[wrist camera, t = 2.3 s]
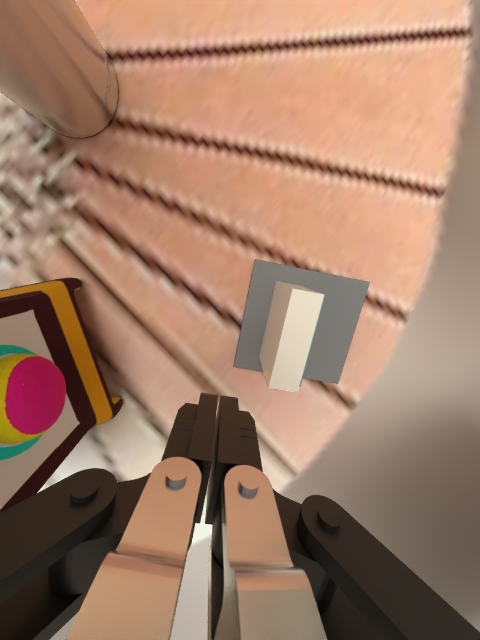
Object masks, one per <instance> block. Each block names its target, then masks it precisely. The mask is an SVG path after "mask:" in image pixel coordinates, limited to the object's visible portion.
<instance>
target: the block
mask: <svg viewBox="0 0 480 640" xmlns="http://www.w3.org/2000/svg"><path fill="white" fill-rule="evenodd" d="M323 301H324V294H322V293H319V292H316V291H313V290H311V289H308V288H305V287H303V286H300V285H295V284H290V283H284V282H279V281H276V283H275V288H274V292H273V297H272V301H271V305H270V310H269V314H268V319H267V323H266V328H265V332H264V337H263V341H262V346H261V350H260V354H259V359H260V362H261V365H262V368H263V372H264V375H265V378H266V381H267V384H268V388H272V389H279V390H285V391H292V392H298V389H299V387H300V385H301V382H302V378H303V374H304V371H305V367H306V363H307V360H308V356H309V352H310V349H311V345H312V341H313V338H314V334H315V331H316V327H317V323H318V320H319V316H320V312H321V309H322V305H323Z"/></svg>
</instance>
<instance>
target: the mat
mask: <svg viewBox="0 0 480 640" xmlns="http://www.w3.org/2000/svg"><path fill="white" fill-rule="evenodd" d="M276 281H279V282H284V283H290V284H295V285H300V286H303V287H305V288H308V289H311V290H313V291H316V292H319V293H322V294H324V301H323V305H322V309H321V312H320V316H319V320H318V323H317V327H316V331H315V334H314V338H313V341H312V345H311V349H310V352H309V356H308V360H307V363H306V367H305V371H304V374H303V378H305V379H311V380H317V381H324V382H330V383H336V384H338V382H339V379H340V376H341V373H342V369H343V366H344V363H345V360H346V357H347V353H348V350H349V347H350V344H351V341H352V337H353V334H354V331H355V328H356V325H357V321H358V318H359V315H360V312H361V309H362V305H363V302H364V299H365V296H366V293H367V290H368V286H369V283H370V282H366V281H361V280H356V279H351V278H346V277H341V276H336V275H331V274H326V273H321V272H316V271H311V270H306V269H301V268H296V267H291V266H286V265H281V264H276V263H271V262H266V261H261V260H256V259H255V261H254V266H253V271H252V276H251V281H250V286H249V291H248V296H247V301H246V306H245V311H244V316H243V321H242V326H241V331H240V336H239V341H238V346H237V351H236V356H235V361H234V367H236V368H242V369H248V370H255V371H261V372H263V368H262V365H261V362H260V359H259V354H260V350H261V346H262V341H263V337H264V332H265V328H266V323H267V319H268V314H269V310H270V305H271V301H272V297H273V292H274V288H275V283H276Z"/></svg>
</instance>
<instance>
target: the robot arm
mask: <svg viewBox="0 0 480 640" xmlns="http://www.w3.org/2000/svg"><path fill="white" fill-rule="evenodd" d="M0 92H1V93H2V94H4V95H5V96H6V97H8V98H9V99H11V100H12V101H13V102H15V103H16V104H17V105H19V106H20V107H21V108H23V109H24V110H26V111H28V112H29V113H31V114H32V115H33V116H35V117H36V118H37V119H39V120H40V121H42V122H43V123H44V124H46V125H47V126H48V127H50V128H51V129H53V130H54V131H56V132H58V133H60V134H62V135H64V136H69V137H73V138H85V137H89V136H93V135H95V134H96V133H98V132H100V131H101V130H102V129H104V128H105V127H106V126H107V125H108V123H109V122H110V120H111V119H112V117H113V115H114V112H115V110H116V107H117V101H118V83H117V79H116V74H115V71H114V69H113V66H112V63H111V61H110V60H109V58H108V56H107V55H106V53H105V51H104V49H103V48H102V46H101V44H100V43H99V41H98V39H97V38H96V36H95V34H94V33H93V31H92V29H91V27H90V26H89V24H88V22H87V20H86V19H85V17H84V15H83V14H82V12H81V10H80V9H79V7H78V5H77V4H76V2H75V0H0ZM217 398H218V395H214V394H207V393H201V395H200V400H199V404H198V405H197V404H190V403H185V404H184V405H183V406H182V407H181V408H180V409H179V410H178V413H177V416H176V419H175V422H174V424H173V428H172V430H171V433H170V436H169V439H168V442H167V445H166V448H165V451H164V454H163V457H162V460H161V462H160V463H158V464H157V465H156V466H155V467H154V469H153V470H152V472H151V473H149V474H148V475H146V476H144V477H142V478H139V479H135V480H130V481H124V482H118V483H117V481H116V478H115V477H114V475H113V474H112V473H111V472H109V471H107V470H104V469H99V468H92V469H86V470H82V471H79V472H77V473H75V474H72V475H71V476H69V477H67V478H65V479H63V480H61V481H59V482H57V483H56V484H54V485H52V486H50V487H48V488H46V489H44V490H42V491H41V492H39V493H37V494H35V495H33V496H31V497H29V498H27V499H26V500H24V501H22V502H20V503H18V504H16V505H14V506H12V507H11V508H9V509H7V510H5V511H3V512H1V513H0V640H49V639H50V638H51V637H52V636H54V635H55V634H56V633H57V632H58V631H59V630H60V629H61V628H62V627H63V626H64V625H65V624H66V623H67V622H68V621H69V620H70V619H71V618H72V617H73V616H74V615H75V614H76V613H77V612H78V614H77V616H76V618H75V621H74V623H73V625H72V627H71V629H70V631H69V633H68V635H67V638H66V639H65V640H170V636H171V631H172V627H173V621H174V616H175V612H176V606H177V602H178V596H179V591H180V587H181V582H182V577H183V572H184V567H185V562H186V557H187V552H188V550H189V548H190V546H191V543H192V538H193V533H194V527H195V523H200V520H201V515H202V510H203V505H204V500H205V495H206V490H207V485H208V480H209V485H208V496H207V507H206V518H205V524H213V527H212V540H211V545H210V549H209V557H208V559H209V560H208V640H480V632H479V631H478V630H477V629H475V628H474V627H473V626H472V625H471V624H470V623H469V622H468V621H467V620H466V619H464V618H463V617H462V616H461V615H460V614H459V613H458V612H457V611H456V610H455V609H453V608H452V607H451V606H450V605H449V604H448V603H447V602H446V601H444V600H443V599H442V598H441V597H440V596H439V595H438V594H437V593H436V592H435V591H433V590H432V589H431V588H430V587H429V586H428V585H427V584H426V583H425V582H424V581H422V580H421V579H420V578H419V577H418V576H417V575H416V574H415V573H414V572H413V571H411V570H410V569H409V568H408V567H407V566H406V565H405V564H404V563H403V562H402V561H400V560H399V559H398V558H397V557H396V556H395V555H394V554H392V552H390V551H389V550H388V549H387V548H386V547H385V546H384V545H383V544H382V543H381V542H379V541H378V540H377V539H376V538H375V537H374V536H373V535H372V534H370V532H368V531H367V530H366V529H365V528H364V527H363V526H362V525H361V524H360V523H358V522H357V521H356V520H355V519H354V518H353V517H352V516H350V514H349V513H347V512H346V511H345V510H344V509H343V508H342V507H341V506H340V505H338V504H337V503H336V502H334V501H333V500H331V499H329V498H327V497H324V496H320V495H312V496H309V497H307V498H306V499H305V500H304V501H303V503H302V504H300V503H297V502H295V501H293V500H290V499H288V498H286V497H284V496H282V495H280V494H279V493H277V492H276V491H275V490H274V489H273V488H272V486H271V483H270V481H269V479H268V478H267V476H266V475H265V474H264V473H263V471H262V464H261V458H260V452H259V445H258V440H257V433H256V427H255V420H254V419H253V418H252V416H251V415H250V413H249V412H246V411H239V408H238V398H234V397H228V396H221V397H220V402H219V407H218V412H217V417H216V410H217Z"/></svg>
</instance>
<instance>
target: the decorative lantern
mask: <svg viewBox="0 0 480 640" xmlns="http://www.w3.org/2000/svg"><path fill="white" fill-rule="evenodd" d="M81 286H82V283H81V281H80V280H79V279H77V278H63V279H56V280H51V281H46V282H41V283H35V284H30V285H25V286H20V287H15V288H10V289H5V290H0V513H1V512H3V511H5V510H7V509H9V508H11V507H12V506H14V505H16V504H18V503H20V502H22V501H24V500H26V499H27V498H29V497H31V496H33V495H35V494H36V493H37V492H38V491H39V490H40V489H41V487H42V486H43V485H44V484H45V483H46V481H47V480H48V479H49V478H50V476H51V475H52V474H53V473H54V472H55V470H56V469H57V468H58V467H59V465H60V464H61V463H62V462H63V461H64V459H65V458H66V457H67V456H68V455H69V453H70V452H71V451H72V450H73V448H74V447H75V446H76V445H77V444H78V442H79V441H80V440H81V439H82V437H83V436H84V435H85V434H86V433H87V431H88V430H90V429H91V428H92V427H94V426H96V425H99V424H101V423H104V422H106V421H108V420H110V419H112V418H114V417H115V416H116V415H117V413H118V412H119V410H120V409H121V406H122V404H123V400H122V398H121V397H114V398H112V399H111V397H110V394H109V391H108V389H107V386H106V383H105V380H104V377H103V375H102V372H101V369H100V366H99V364H98V361H97V358H96V355H95V353H94V350H93V347H92V344H91V342H90V339H89V336H88V333H87V330H86V328H85V325H84V322H83V319H82V317H81V314H80V311H79V308H78V306H77V303H76V300H75V296H74V291H76V290H78V289H80V288H81Z"/></svg>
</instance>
